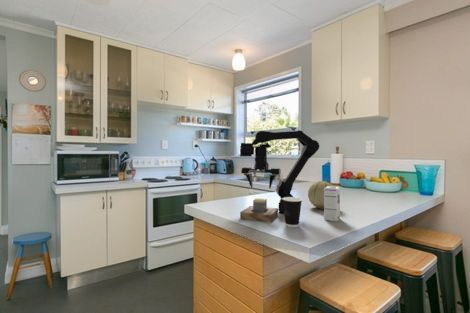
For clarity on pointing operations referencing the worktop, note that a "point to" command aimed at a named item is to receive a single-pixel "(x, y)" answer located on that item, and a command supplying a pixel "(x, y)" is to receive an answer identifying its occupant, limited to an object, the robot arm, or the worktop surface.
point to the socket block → (259, 214)
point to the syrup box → (332, 203)
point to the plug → (260, 205)
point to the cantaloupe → (318, 193)
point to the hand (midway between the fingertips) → (260, 188)
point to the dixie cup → (292, 211)
